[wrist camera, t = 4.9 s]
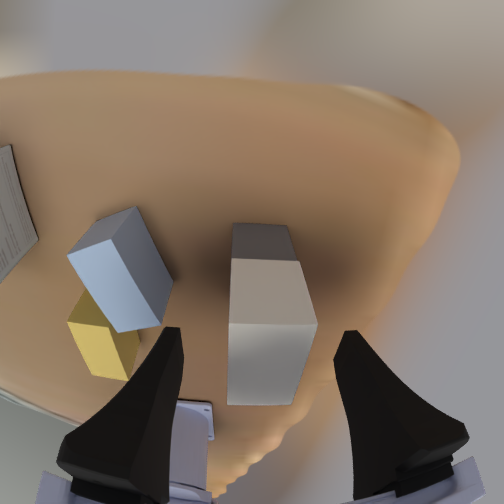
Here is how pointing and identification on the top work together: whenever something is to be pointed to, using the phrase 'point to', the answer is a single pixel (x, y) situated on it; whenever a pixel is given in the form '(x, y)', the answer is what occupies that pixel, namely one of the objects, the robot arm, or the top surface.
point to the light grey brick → (267, 331)
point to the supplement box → (12, 216)
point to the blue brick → (123, 271)
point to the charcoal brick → (261, 242)
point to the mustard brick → (102, 341)
